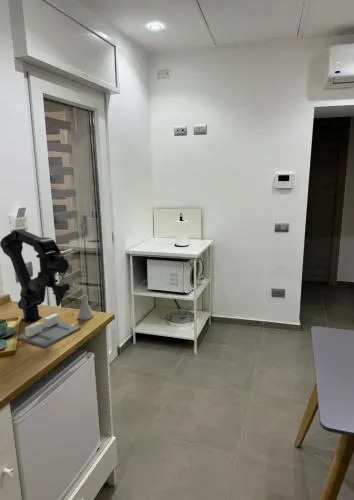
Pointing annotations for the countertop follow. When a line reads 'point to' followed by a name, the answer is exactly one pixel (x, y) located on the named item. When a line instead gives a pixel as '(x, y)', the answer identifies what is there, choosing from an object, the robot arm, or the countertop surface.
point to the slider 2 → (51, 320)
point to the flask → (85, 309)
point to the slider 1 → (33, 329)
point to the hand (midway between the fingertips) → (50, 304)
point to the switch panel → (50, 334)
